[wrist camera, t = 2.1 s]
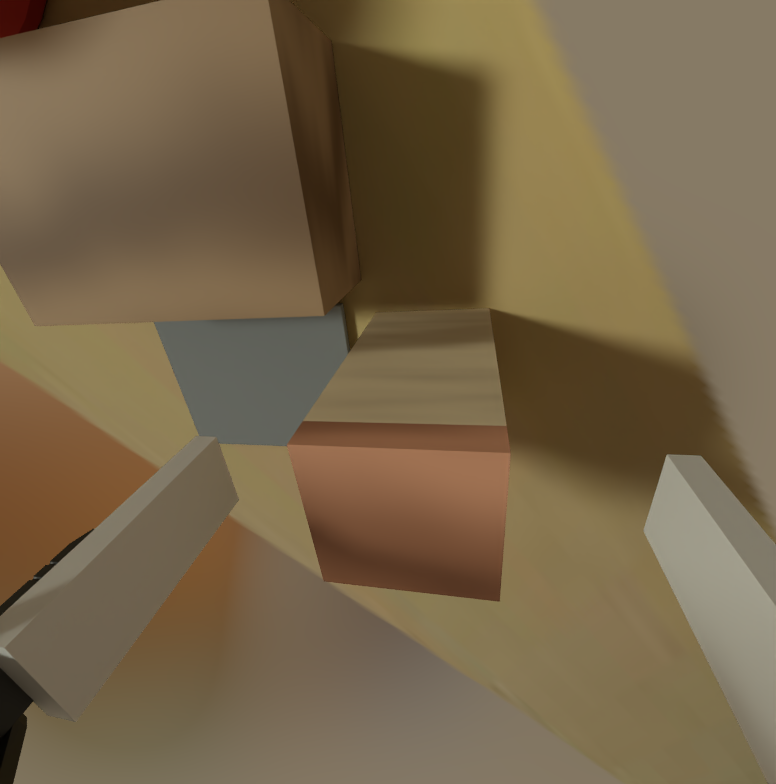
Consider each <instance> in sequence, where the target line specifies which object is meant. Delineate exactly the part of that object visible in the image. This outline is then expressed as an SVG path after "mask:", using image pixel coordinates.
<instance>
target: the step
mask: <svg viewBox="0 0 776 784" xmlns="http://www.w3.org/2000/svg"><path fill="white" fill-rule="evenodd" d="M0 264H1V266H2V268H3V269H4V271H5V273H6V275H7V277H8V278H9V280H10V282H11V284H12V286H13V287H14V289H15V291H16V293H17V295H18V296H19V298H20V300H21V302H22V304H23V305H24V307H25V309H26V311H27V312H28V314H29V316H30V318H31V320H32V321H33V323H34V325H35V326H52V325H80V324H108V323H137V322H165V321H193V320H222V319H250V318H278V317H307V316H325V315H326V314H327V313H328V312H329V311H330V310H331V309H332V308H333V307H334V306H335V305H336V304H337V303H338V302H339V301H340V300H341V299H342V298H343V297H344V296H345V295H346V294H347V293H348V292H349V291H350V290H351V289H352V288H353V287H355V286H356V285H357V284H358V283H359V282H360V281H361V274H360V266H359V258H358V250H357V242H356V234H355V226H354V218H353V210H352V201H351V193H350V185H349V177H348V169H347V161H346V153H345V145H344V137H343V129H342V121H341V113H340V105H339V97H338V89H337V81H336V73H335V65H334V57H333V49H332V41H331V40H330V39H329V38H328V37H327V36H326V35H325V34H323V33H322V32H321V31H320V30H319V29H318V28H317V27H316V26H315V25H314V24H313V23H312V22H311V21H310V20H309V19H308V18H307V17H306V16H305V15H304V14H303V13H302V12H301V11H300V10H299V9H298V8H297V7H295V6H294V5H293V4H292V3H291V2H290V1H289V0H160V1H156V2H152V3H148V4H143V5H139V6H135V7H131V8H126V9H122V10H118V11H114V12H109V13H105V14H101V15H97V16H92V17H88V18H84V19H80V20H75V21H71V22H67V23H63V24H58V25H54V26H50V27H46V28H41V29H37V30H33V31H29V32H24V33H20V34H16V35H12V36H7V37H3V38H0Z"/></svg>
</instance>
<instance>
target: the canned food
mask: <svg viewBox="0 0 776 784" xmlns="http://www.w3.org/2000/svg"><path fill="white" fill-rule="evenodd" d="M45 4H46V0H0V38H3V37H7V36H12V35H16V34H20V33H24V32H29V31H33V30H36V29H37V28H38V26H39V24H40V22H41V19H42V16H43V12H44V8H45Z"/></svg>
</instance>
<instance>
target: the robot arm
mask: <svg viewBox="0 0 776 784" xmlns="http://www.w3.org/2000/svg"><path fill="white" fill-rule="evenodd" d="M238 500H239V498H238V496H237V493H236V490H235V487H234V484H233V482H232V479H231V476H230V473H229V471H228V468H227V465H226V462H225V459H224V457H223V454H222V451H221V448H220V445H219V443H218V440H217V437H208V436H196V437H194V438H193V439H192V440H191V441H190V442H189V443H188V444H187V445H186V446H185V447H184V448H183V449H181V450H180V451H179V452H178V453H177V454H176V455H175V456H174V457H173V458H172V459H171V460H169V461H168V462H167V463H166V464H165V465H164V466H163V467H162V468H161V469H160V470H159V471H158V472H156V473H155V474H154V475H153V476H152V477H151V478H150V479H149V480H148V481H147V482H146V483H144V484H143V485H142V486H141V487H140V488H139V489H138V490H137V491H136V492H135V493H134V494H132V495H131V496H130V497H129V498H128V499H127V500H126V501H125V502H124V503H123V504H122V505H121V506H120V507H118V508H117V509H116V510H115V511H114V512H113V513H112V514H111V515H110V516H109V517H108V518H106V519H105V520H104V521H103V522H102V523H101V524H100V525H99V526H98V527H97V528H95V529H92V530H91V531H89V532H87V533H86V534H84V535H83V536H81V537H79V538H78V539H76V540H75V541H73V542H72V543H70V544H69V545H68V546H67V547H66V548H65V549H63V550H62V551H61V552H60V553H59V554H58V555H57V556H56V557H54V558H53V559H52V560H51V561H50V564H49V565H45V566H44V567H43V568H42V569H41V570H40V571H39V572H38V573H37V574H36V575H34V578H33V580H29V581H28V582H27V583H26V584H25V585H23V586H22V587H21V588H20V589H19V590H18V591H17V592H15V593H14V594H13V595H12V596H11V597H10V598H9V599H8V600H7V601H5V602H4V603H3V604H2V605H1V606H0V784H13V782H14V778H15V773H16V769H17V765H18V761H19V757H20V753H21V749H22V745H23V741H24V737H25V733H26V729H27V717H26V716H25V715H24V714H23V713H24V711H25V710H26V709H27V708H28V707H29V705H30V704H31V703H32V702H34V703H36V704H37V705H38V707H40V708H41V710H43V711H44V712H45V713H46V714H47V715H48V716H53V717H57V718H61V719H66V720H70V721H74V722H76V721H77V720H78V718H79V717H80V716H81V714H82V713H83V712H84V710H85V709H86V707H87V706H88V705H89V703H90V702H91V701H92V699H93V698H94V697H95V695H96V694H97V692H98V691H99V690H100V688H101V687H102V686H103V684H104V683H105V681H106V680H107V679H108V678H109V676H110V675H111V673H112V672H113V671H114V669H115V668H116V667H117V665H118V664H119V663H120V661H121V660H122V658H123V657H124V656H125V654H126V653H127V652H128V650H129V649H130V648H131V646H132V645H133V643H134V642H135V641H136V639H137V638H138V637H139V635H140V634H141V633H142V631H143V630H144V628H145V627H146V626H147V624H148V623H149V622H150V620H151V619H152V617H153V616H154V615H155V614H156V612H157V611H158V609H159V608H160V607H161V605H162V604H163V602H164V601H165V600H166V599H167V597H168V596H169V594H170V593H171V592H172V590H173V589H174V588H175V586H176V585H177V584H178V582H179V581H180V579H181V578H182V577H183V575H184V574H185V573H186V571H187V570H188V569H189V567H190V566H191V564H192V563H193V562H194V560H195V559H196V558H197V556H198V555H199V553H200V552H201V551H202V549H203V548H204V547H205V545H206V544H207V543H208V541H209V540H210V539H211V537H212V536H213V534H214V533H215V532H216V530H217V529H218V527H219V526H220V525H221V524H222V522H223V521H224V520H225V518H226V517H227V515H228V514H229V513H230V511H231V510H232V509H233V507H234V506H235V505H236V503H237V502H238ZM644 533H645V535H646V537H647V539H648V541H649V543H650V545H651V547H652V549H653V551H654V553H655V555H656V557H657V559H658V561H659V563H660V565H661V567H662V569H663V571H664V573H665V575H666V578H667V580H668V582H669V584H670V586H671V588H672V590H673V592H674V594H675V596H676V598H677V600H678V602H679V604H680V606H681V608H682V610H683V612H684V614H685V616H686V618H687V620H688V622H689V624H690V626H691V628H692V630H693V632H694V634H695V636H696V638H697V640H698V642H699V645H700V647H701V649H702V651H703V653H704V655H705V657H706V659H707V661H708V663H709V665H710V667H711V669H712V671H713V673H714V675H715V677H716V679H717V681H718V683H719V685H720V687H721V689H722V691H723V693H724V695H725V697H726V699H727V701H728V703H729V705H730V707H731V710H732V712H733V714H734V716H735V718H736V720H737V722H738V724H739V726H740V728H741V730H742V732H743V734H744V736H745V738H746V740H747V742H748V744H749V746H750V748H751V750H752V752H753V754H754V756H755V758H756V760H757V762H758V764H759V766H760V768H761V770H762V772H763V774H764V777H765V779H766V781H767V783H768V784H776V544H775V543H774V542H773V541H772V540H771V538H770V537H769V536H768V535H767V534H766V533H765V531H764V530H763V529H762V528H761V527H760V525H759V524H758V523H757V522H756V521H755V519H754V518H753V517H752V516H751V515H750V513H749V512H748V511H747V510H746V509H745V507H744V506H743V505H742V504H741V503H740V502H739V500H738V499H737V498H736V497H735V496H734V494H733V493H732V492H731V491H730V490H729V488H728V487H727V486H726V485H725V484H724V482H723V481H722V480H721V479H720V478H719V476H718V475H717V474H716V473H715V472H714V471H713V469H712V468H711V467H710V466H709V465H708V463H707V462H706V461H705V460H704V459H703V457H702V456H697V455H671V454H667V456H666V459H665V462H664V465H663V469H662V472H661V475H660V478H659V482H658V485H657V488H656V491H655V495H654V498H653V501H652V505H651V508H650V511H649V514H648V518H647V521H646V524H645V527H644Z"/></svg>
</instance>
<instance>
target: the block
mask: <svg viewBox="0 0 776 784" xmlns="http://www.w3.org/2000/svg"><path fill="white" fill-rule="evenodd" d="M287 447H288V451H289V454H290V458H291V462H292V465H293V469H294V473H295V476H296V480H297V484H298V488H299V491H300V495H301V499H302V502H303V506H304V510H305V513H306V517H307V521H308V524H309V528H310V532H311V536H312V539H313V543H314V547H315V550H316V554H317V558H318V561H319V565H320V569H321V572H322V576H323V580H324V581H326V582H334V583H343V584H352V585H361V586H369V587H378V588H387V589H395V590H404V591H413V592H421V593H430V594H439V595H448V596H456V597H465V598H474V599H482V600H491V601H500V589H501V576H502V562H503V549H504V536H505V522H506V509H507V496H508V482H509V469H510V456H511V452H510V445H509V438H508V431H507V425H506V418H505V411H504V404H503V397H502V391H501V384H500V377H499V370H498V363H497V357H496V350H495V343H494V336H493V330H492V323H491V316H490V309H489V308H483V309H456V310H428V311H400V312H376V313H375V315H374V316H373V318H372V319H371V321H370V322H369V324H368V325H367V327H366V328H365V330H364V331H363V333H362V334H361V336H360V337H359V339H358V340H357V342H356V343H355V345H354V346H353V347H352V349H351V350H350V352H349V353H348V355H347V356H346V358H345V359H344V361H343V362H342V364H341V365H340V367H339V368H338V370H337V371H336V373H335V374H334V376H333V377H332V379H331V380H330V381H329V383H328V384H327V386H326V387H325V389H324V390H323V392H322V393H321V395H320V396H319V398H318V399H317V401H316V402H315V404H314V405H313V407H312V408H311V410H310V411H309V413H308V414H307V415H306V417H305V418H304V420H303V421H302V423H301V424H300V426H299V427H298V429H297V430H296V432H295V433H294V435H293V436H292V438H291V439H290V441H289V442H288V444H287Z"/></svg>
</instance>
